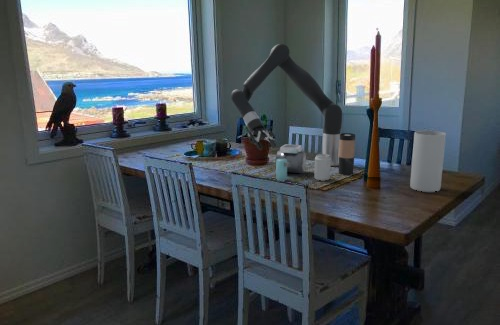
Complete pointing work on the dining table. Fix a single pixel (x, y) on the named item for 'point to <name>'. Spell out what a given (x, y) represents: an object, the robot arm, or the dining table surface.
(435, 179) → the cylinder vase
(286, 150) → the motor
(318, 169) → the can
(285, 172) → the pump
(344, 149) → the travel mug
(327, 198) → the dining table surface
